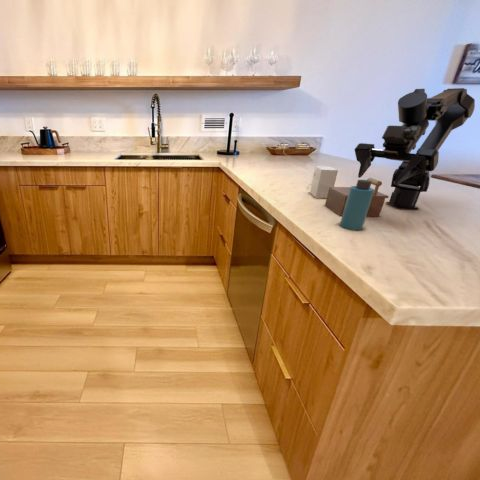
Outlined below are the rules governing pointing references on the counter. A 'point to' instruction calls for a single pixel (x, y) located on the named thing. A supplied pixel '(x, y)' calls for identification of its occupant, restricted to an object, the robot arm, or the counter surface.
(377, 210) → the chest
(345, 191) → the chest lid
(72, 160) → the counter surface
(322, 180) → the small box
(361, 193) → the detergent bottle
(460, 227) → the counter surface
